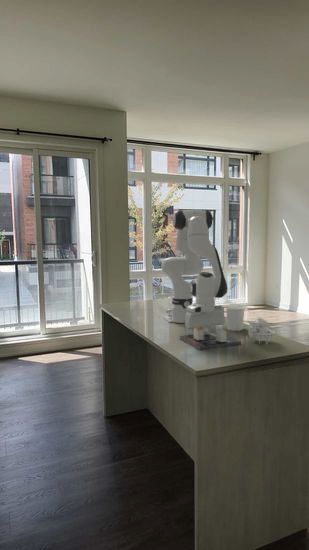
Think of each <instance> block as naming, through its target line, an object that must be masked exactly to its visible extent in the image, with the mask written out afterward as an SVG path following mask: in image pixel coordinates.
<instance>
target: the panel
mask: <svg viewBox="0 0 309 550" xmlns="http://www.w3.org/2000/svg"><path fill="white" fill-rule="evenodd" d="M179 340H181V341H182V342H184V343H186V344H188V345H190V346H192V347H193V348H195V349H197V350H199V351H203V350H204V351H205V350H210V348H212V349H218V347H219V348H225V347H233V346H240V345H242V341H241V340H239V339H237V338H234V337H231V336H229V335H227V334H226V342H219V341H217V340H216V331H212V332H211V331H210V334H209V335H207V336H203V340H196V339H194V333H192V334H186V335H180V336H179Z"/></svg>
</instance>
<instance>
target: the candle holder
mask: <svg viewBox="0 0 309 550" xmlns="http://www.w3.org/2000/svg"><path fill="white" fill-rule="evenodd" d="M225 312H226V329H227V330H228V331H232V332H234V331H235V332H237V331H238V332H239V331H240V332H241V331H242V330H244V320H245V319H244V318H245V316H244V315H245V307H244V306H239V305H229V306H226V307H225Z"/></svg>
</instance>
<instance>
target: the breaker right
mask: <svg viewBox="0 0 309 550" xmlns="http://www.w3.org/2000/svg"><path fill="white" fill-rule="evenodd" d="M215 332H216V340H217V341H219V342H226V335H227V331H226V330H225V329H222V328H218V329H216V330H215Z"/></svg>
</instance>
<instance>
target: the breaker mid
mask: <svg viewBox="0 0 309 550" xmlns="http://www.w3.org/2000/svg"><path fill="white" fill-rule="evenodd" d="M193 334H194V339H196V340H203V330H202V329H201V328H200V327H197V328H193Z"/></svg>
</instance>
